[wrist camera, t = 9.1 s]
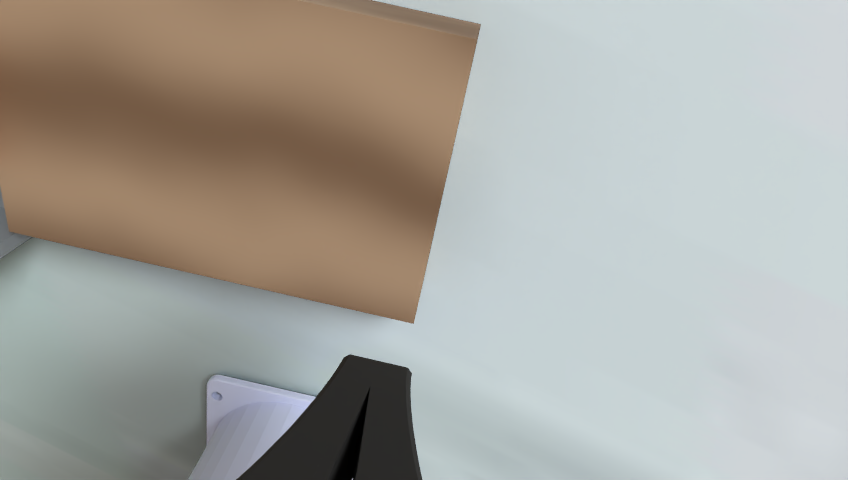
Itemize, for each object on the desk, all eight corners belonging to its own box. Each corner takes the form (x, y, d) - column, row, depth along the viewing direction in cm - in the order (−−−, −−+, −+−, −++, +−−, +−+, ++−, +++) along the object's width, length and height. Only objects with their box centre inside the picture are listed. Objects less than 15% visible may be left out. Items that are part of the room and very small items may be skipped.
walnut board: (422, 285, 23) (413, 323, 21) (54, 202, 24) (9, 231, 21) (480, 24, 18) (477, 39, 16) (15, -78, 19) (-50, -77, 17)
